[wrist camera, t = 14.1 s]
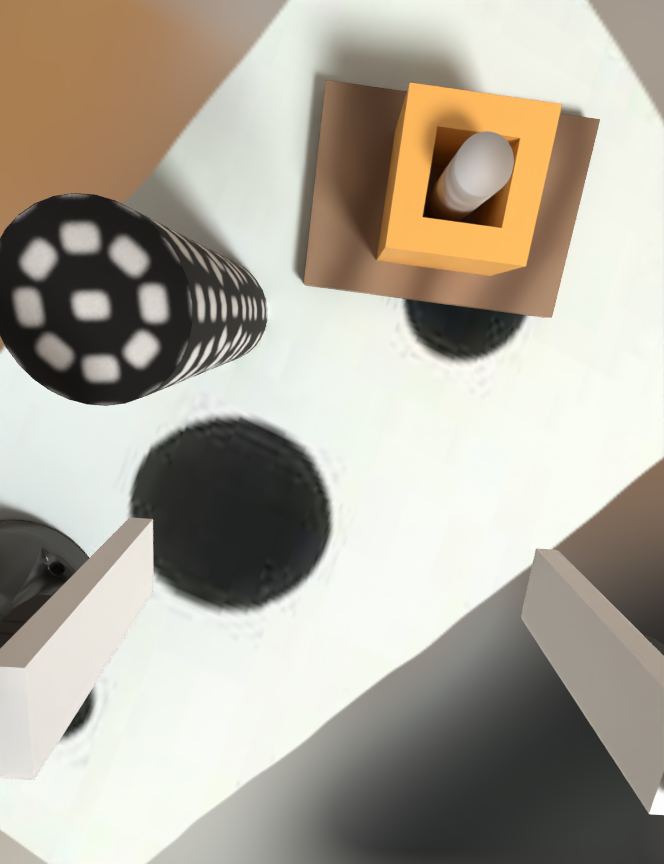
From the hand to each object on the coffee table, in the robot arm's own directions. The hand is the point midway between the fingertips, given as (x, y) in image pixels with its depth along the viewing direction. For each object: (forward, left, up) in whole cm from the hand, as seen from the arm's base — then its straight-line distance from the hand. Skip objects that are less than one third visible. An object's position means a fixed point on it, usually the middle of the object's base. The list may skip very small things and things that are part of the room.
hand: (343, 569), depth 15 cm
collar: (+6, +17, -24) cm, 30 cm away
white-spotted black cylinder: (-11, +7, -25) cm, 29 cm away
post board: (+6, +17, -25) cm, 31 cm away
